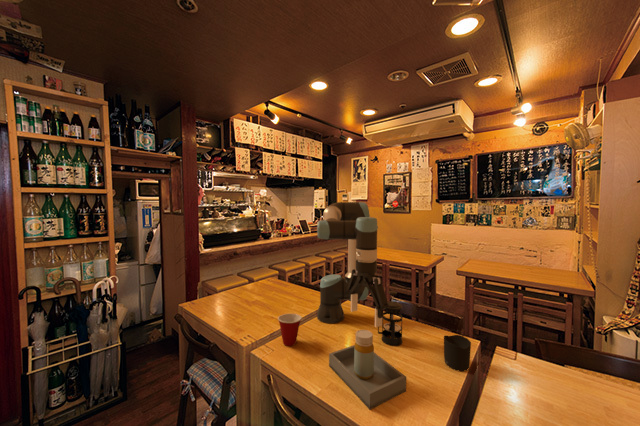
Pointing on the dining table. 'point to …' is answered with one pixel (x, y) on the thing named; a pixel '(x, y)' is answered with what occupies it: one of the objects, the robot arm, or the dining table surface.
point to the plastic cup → (289, 328)
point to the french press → (392, 324)
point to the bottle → (364, 354)
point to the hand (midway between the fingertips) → (365, 318)
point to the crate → (372, 390)
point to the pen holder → (457, 352)
